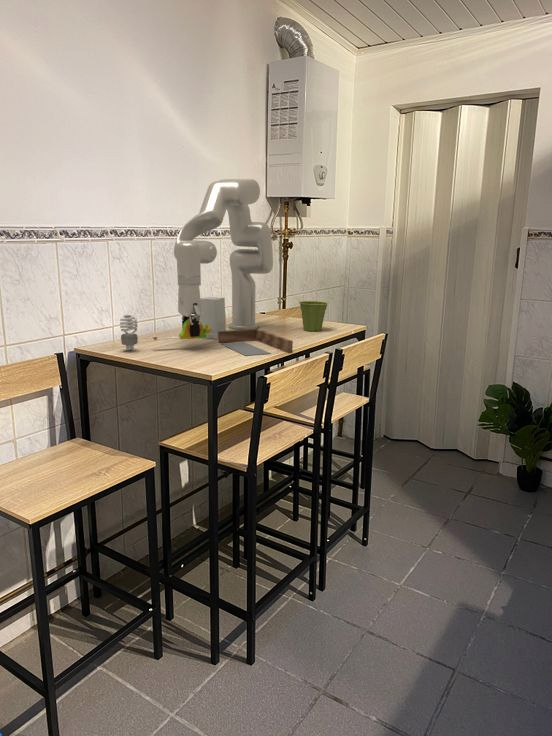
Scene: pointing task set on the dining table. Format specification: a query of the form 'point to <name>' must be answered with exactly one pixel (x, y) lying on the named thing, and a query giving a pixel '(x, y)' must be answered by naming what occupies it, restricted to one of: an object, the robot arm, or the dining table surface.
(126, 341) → the light bulb
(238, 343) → the mat
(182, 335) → the toy measuring tape
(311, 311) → the plant pot
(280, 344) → the wall
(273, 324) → the dining table surface
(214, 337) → the skincare box
